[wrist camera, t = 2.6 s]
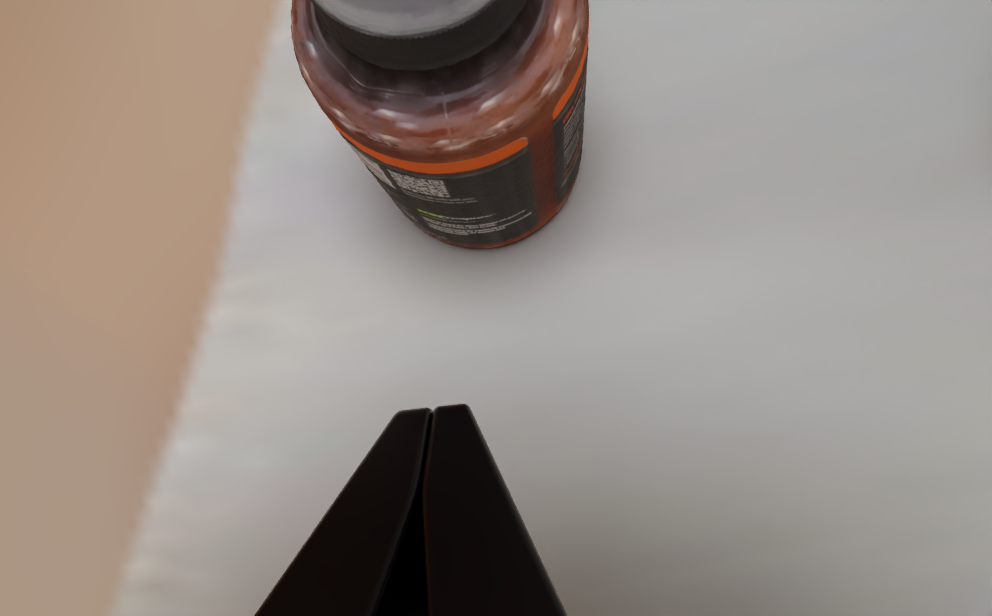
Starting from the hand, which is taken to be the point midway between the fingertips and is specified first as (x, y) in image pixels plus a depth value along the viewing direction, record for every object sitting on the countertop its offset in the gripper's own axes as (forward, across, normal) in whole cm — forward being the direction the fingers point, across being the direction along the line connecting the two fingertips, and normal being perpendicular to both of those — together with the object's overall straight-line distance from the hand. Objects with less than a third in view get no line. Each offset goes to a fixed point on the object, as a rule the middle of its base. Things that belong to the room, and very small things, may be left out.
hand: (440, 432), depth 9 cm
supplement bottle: (+15, 0, +4) cm, 16 cm away
